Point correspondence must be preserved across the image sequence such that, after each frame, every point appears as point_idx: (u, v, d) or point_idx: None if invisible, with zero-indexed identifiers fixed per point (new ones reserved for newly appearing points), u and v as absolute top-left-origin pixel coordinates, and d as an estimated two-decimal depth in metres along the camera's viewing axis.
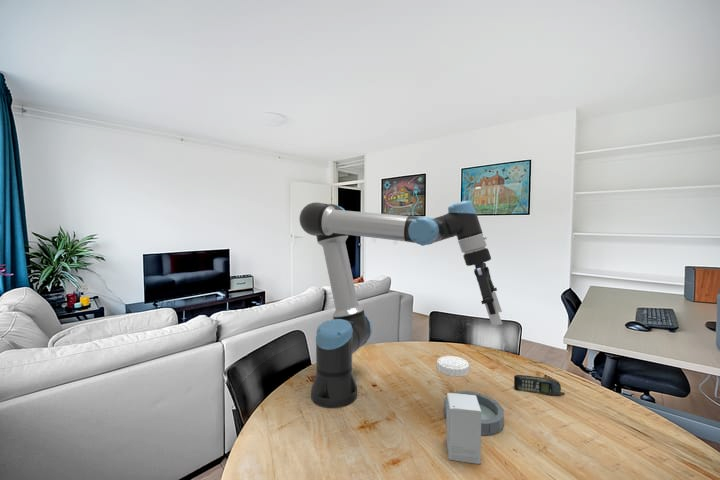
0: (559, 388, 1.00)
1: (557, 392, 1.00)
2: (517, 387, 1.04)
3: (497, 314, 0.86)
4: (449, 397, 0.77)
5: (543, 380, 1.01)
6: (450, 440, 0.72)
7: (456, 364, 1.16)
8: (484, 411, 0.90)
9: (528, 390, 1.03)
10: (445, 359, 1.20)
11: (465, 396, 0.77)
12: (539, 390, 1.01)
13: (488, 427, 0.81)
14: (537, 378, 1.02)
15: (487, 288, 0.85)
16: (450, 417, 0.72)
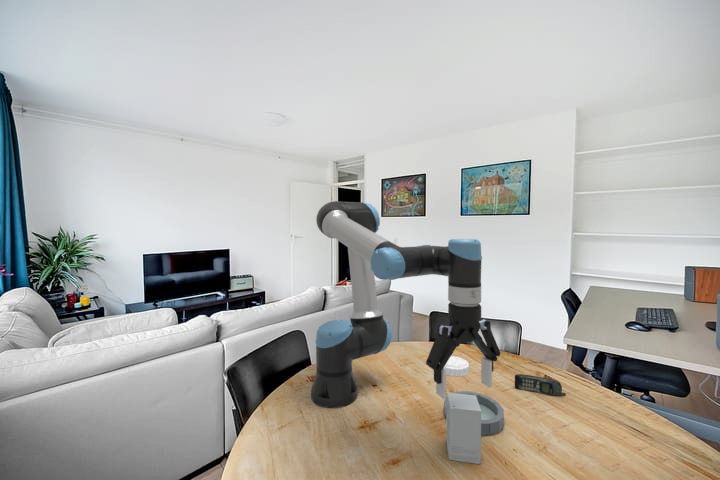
0: (560, 388, 0.99)
1: (558, 392, 1.00)
2: (517, 386, 1.04)
3: (442, 386, 0.71)
4: (449, 397, 0.77)
5: (544, 380, 1.01)
6: (450, 440, 0.72)
7: (456, 364, 1.16)
8: (484, 411, 0.90)
9: (529, 390, 1.03)
10: None
11: (465, 396, 0.77)
12: (540, 390, 1.02)
13: (488, 427, 0.81)
14: (538, 378, 1.02)
15: (435, 353, 0.70)
16: (450, 417, 0.72)
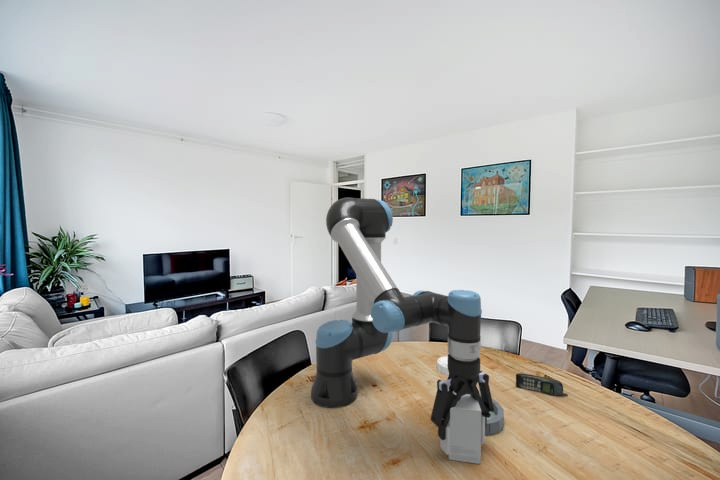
0: (561, 389, 0.99)
1: (559, 392, 0.99)
2: (518, 384, 1.05)
3: (446, 442, 0.72)
4: None
5: (545, 380, 1.01)
6: (450, 440, 0.72)
7: None
8: None
9: (530, 389, 1.04)
10: (445, 359, 1.20)
11: (465, 395, 0.77)
12: (541, 389, 1.02)
13: (488, 427, 0.81)
14: (539, 377, 1.03)
15: (438, 410, 0.71)
16: (450, 417, 0.72)
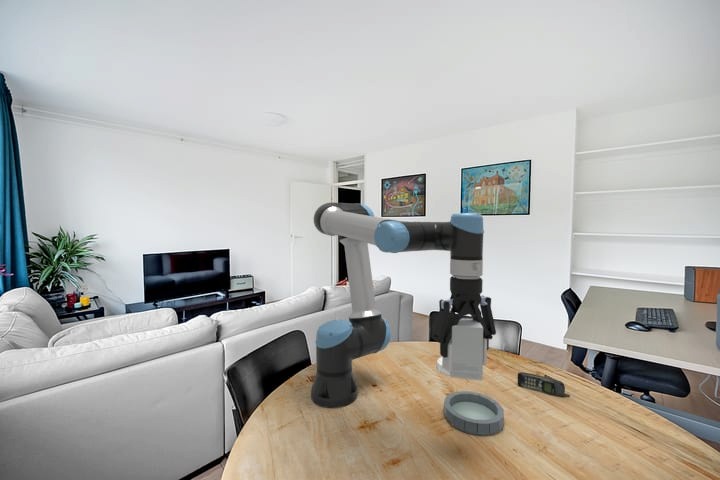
0: (562, 389, 0.99)
1: (560, 392, 0.99)
2: (520, 383, 1.06)
3: (448, 359, 0.73)
4: None
5: (546, 379, 1.01)
6: (452, 358, 0.73)
7: None
8: (484, 411, 0.90)
9: (531, 388, 1.04)
10: None
11: (467, 319, 0.78)
12: (542, 389, 1.02)
13: (488, 427, 0.81)
14: (540, 377, 1.03)
15: (440, 327, 0.72)
16: (452, 335, 0.73)
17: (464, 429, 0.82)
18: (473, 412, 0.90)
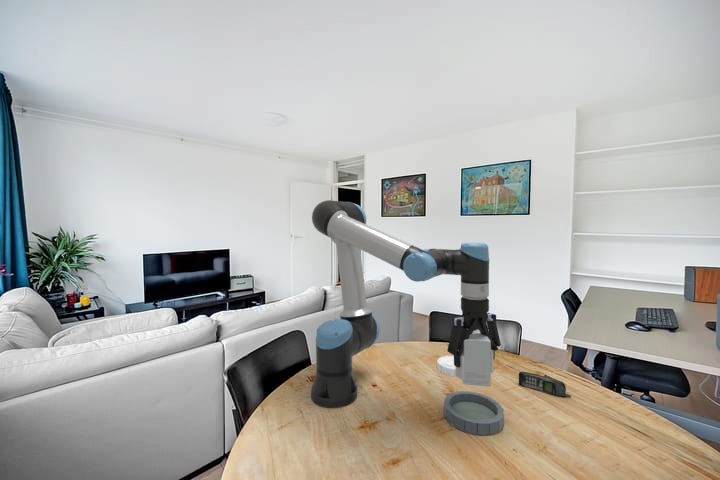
0: (563, 389, 0.99)
1: (561, 393, 0.99)
2: (521, 382, 1.06)
3: (461, 369, 0.85)
4: None
5: (547, 379, 1.02)
6: (464, 367, 0.85)
7: None
8: (484, 411, 0.90)
9: (532, 387, 1.04)
10: (445, 359, 1.20)
11: (476, 333, 0.90)
12: (543, 389, 1.02)
13: (488, 427, 0.81)
14: (541, 377, 1.03)
15: (454, 341, 0.84)
16: (464, 348, 0.85)
17: (464, 429, 0.82)
18: (473, 412, 0.90)
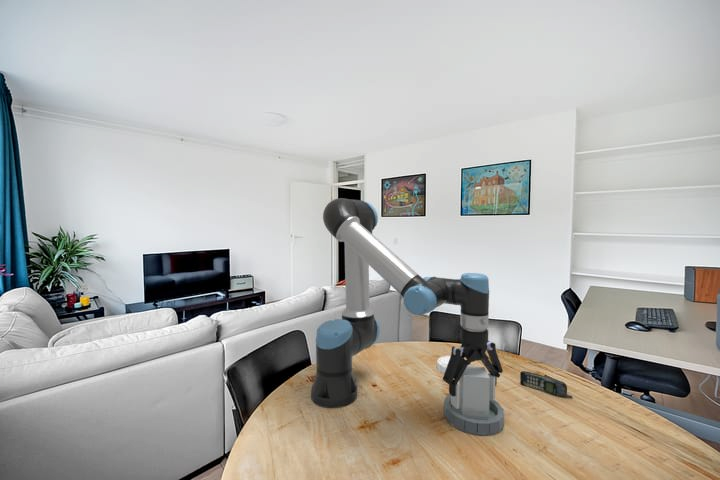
0: (564, 390, 0.99)
1: (562, 393, 0.99)
2: (522, 382, 1.07)
3: (456, 398, 0.85)
4: None
5: (548, 379, 1.02)
6: (463, 403, 0.86)
7: None
8: None
9: (533, 387, 1.05)
10: (445, 359, 1.20)
11: (475, 367, 0.91)
12: (544, 389, 1.02)
13: (488, 427, 0.81)
14: (543, 377, 1.03)
15: (450, 371, 0.84)
16: (463, 383, 0.86)
17: (464, 429, 0.82)
18: None
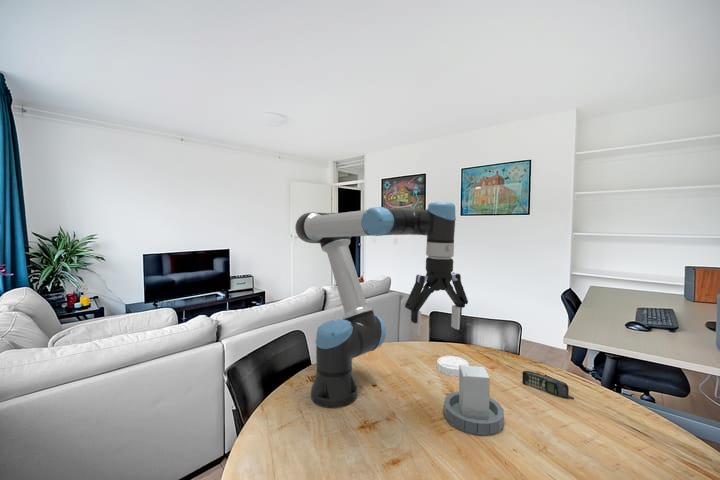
0: (565, 391, 0.98)
1: (563, 394, 0.99)
2: (524, 381, 1.07)
3: (417, 325, 0.84)
4: (462, 368, 0.90)
5: (549, 379, 1.02)
6: (463, 403, 0.86)
7: (456, 364, 1.16)
8: None
9: (535, 387, 1.05)
10: (445, 359, 1.20)
11: (475, 367, 0.91)
12: (545, 389, 1.02)
13: (488, 427, 0.81)
14: (544, 377, 1.03)
15: (413, 297, 0.83)
16: (463, 383, 0.86)
17: (464, 429, 0.82)
18: None
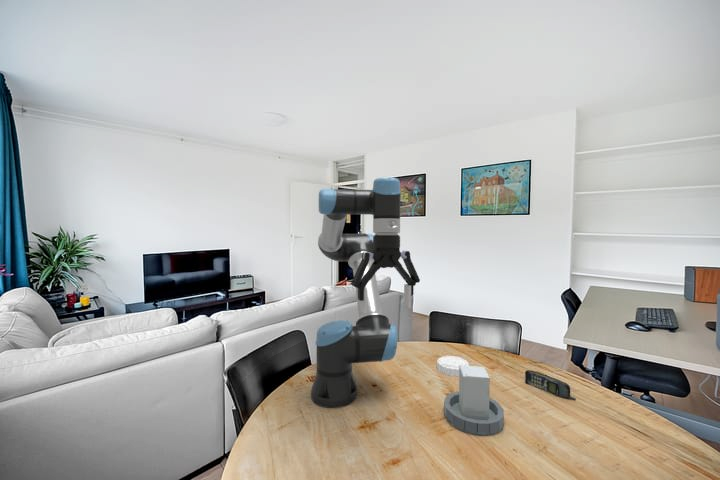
0: (566, 391, 0.98)
1: (564, 394, 0.98)
2: (527, 381, 1.08)
3: (364, 302, 0.83)
4: (462, 368, 0.90)
5: (551, 379, 1.02)
6: (463, 403, 0.86)
7: (456, 364, 1.16)
8: None
9: (537, 386, 1.05)
10: (445, 359, 1.20)
11: (475, 367, 0.91)
12: (547, 389, 1.02)
13: (488, 427, 0.81)
14: (546, 377, 1.03)
15: (358, 273, 0.82)
16: (463, 383, 0.86)
17: (464, 429, 0.82)
18: None
